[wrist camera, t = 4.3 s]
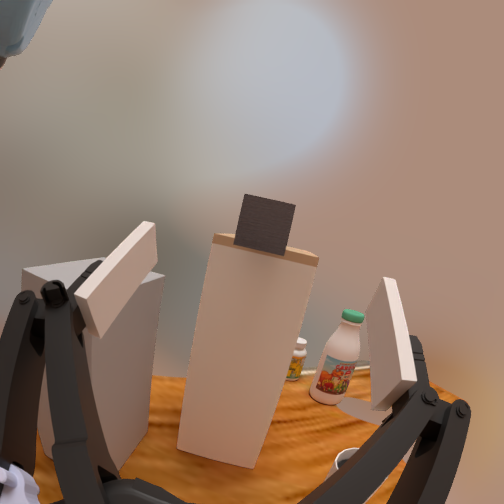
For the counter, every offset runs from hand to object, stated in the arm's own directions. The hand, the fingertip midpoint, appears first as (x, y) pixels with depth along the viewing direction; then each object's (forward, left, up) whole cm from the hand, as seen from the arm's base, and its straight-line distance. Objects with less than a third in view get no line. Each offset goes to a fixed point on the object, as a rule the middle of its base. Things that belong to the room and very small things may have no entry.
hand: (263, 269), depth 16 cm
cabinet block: (-1, +20, -29) cm, 35 cm away
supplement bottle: (+10, +46, -30) cm, 56 cm away
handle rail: (-1, +17, +1) cm, 17 cm away
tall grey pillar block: (-16, +8, -29) cm, 34 cm away
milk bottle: (+18, +40, -30) cm, 53 cm away
